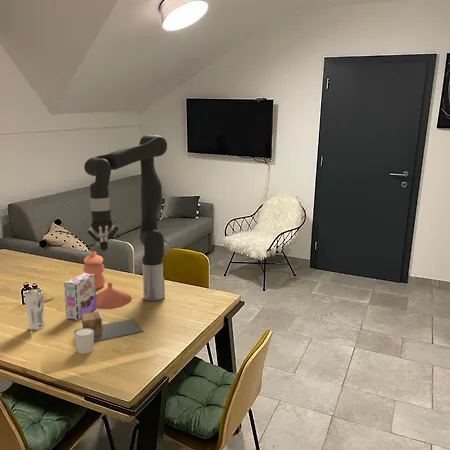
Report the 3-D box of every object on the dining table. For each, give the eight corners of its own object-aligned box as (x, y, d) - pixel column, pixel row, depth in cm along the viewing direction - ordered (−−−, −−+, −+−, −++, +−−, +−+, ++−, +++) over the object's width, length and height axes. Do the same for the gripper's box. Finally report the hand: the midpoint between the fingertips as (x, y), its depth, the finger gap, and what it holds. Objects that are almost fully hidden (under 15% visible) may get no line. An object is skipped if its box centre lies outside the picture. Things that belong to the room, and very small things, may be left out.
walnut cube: (99, 311, 178) (81, 313, 175) (102, 318, 172) (83, 320, 169) (100, 327, 180) (82, 330, 177) (103, 334, 173) (84, 337, 171)
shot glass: (77, 345, 166) (76, 328, 164) (96, 345, 166) (95, 327, 165) (73, 354, 159) (72, 336, 157) (92, 354, 159) (91, 336, 158)
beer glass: (49, 324, 182) (47, 290, 179) (37, 332, 176) (34, 296, 173) (36, 322, 185) (33, 288, 181) (23, 329, 178) (20, 293, 175)
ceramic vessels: (141, 302, 206) (140, 263, 202) (97, 313, 194) (95, 272, 190) (111, 281, 234) (109, 246, 230) (70, 289, 221) (68, 253, 217)
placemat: (133, 319, 188) (133, 318, 188) (143, 331, 177) (143, 330, 177) (74, 330, 177) (74, 329, 177) (81, 344, 166) (81, 343, 166)
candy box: (77, 321, 186) (75, 283, 183) (66, 319, 188) (63, 282, 184) (97, 308, 199) (95, 273, 195) (86, 306, 201) (83, 272, 197)
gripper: (114, 205, 184) (117, 245, 188) (81, 208, 178) (85, 250, 182) (119, 208, 178) (122, 250, 182) (86, 212, 172) (89, 255, 176)
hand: (103, 250), depth 182 cm, fingers closed
